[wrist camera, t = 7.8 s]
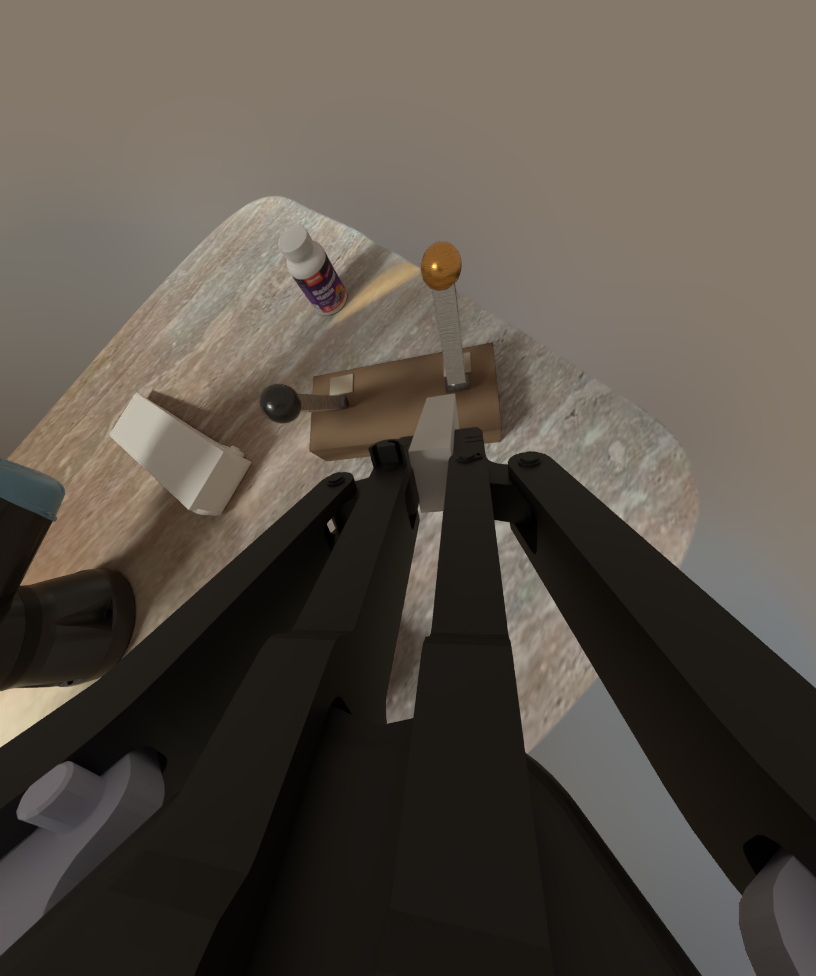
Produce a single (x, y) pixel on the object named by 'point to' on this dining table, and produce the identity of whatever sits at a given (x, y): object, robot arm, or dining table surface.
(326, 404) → the black knob lever
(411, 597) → the dining table surface
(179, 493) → the wall bracket
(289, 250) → the pill bottle
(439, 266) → the orange knob lever
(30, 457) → the dining table surface
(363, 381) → the switch box
